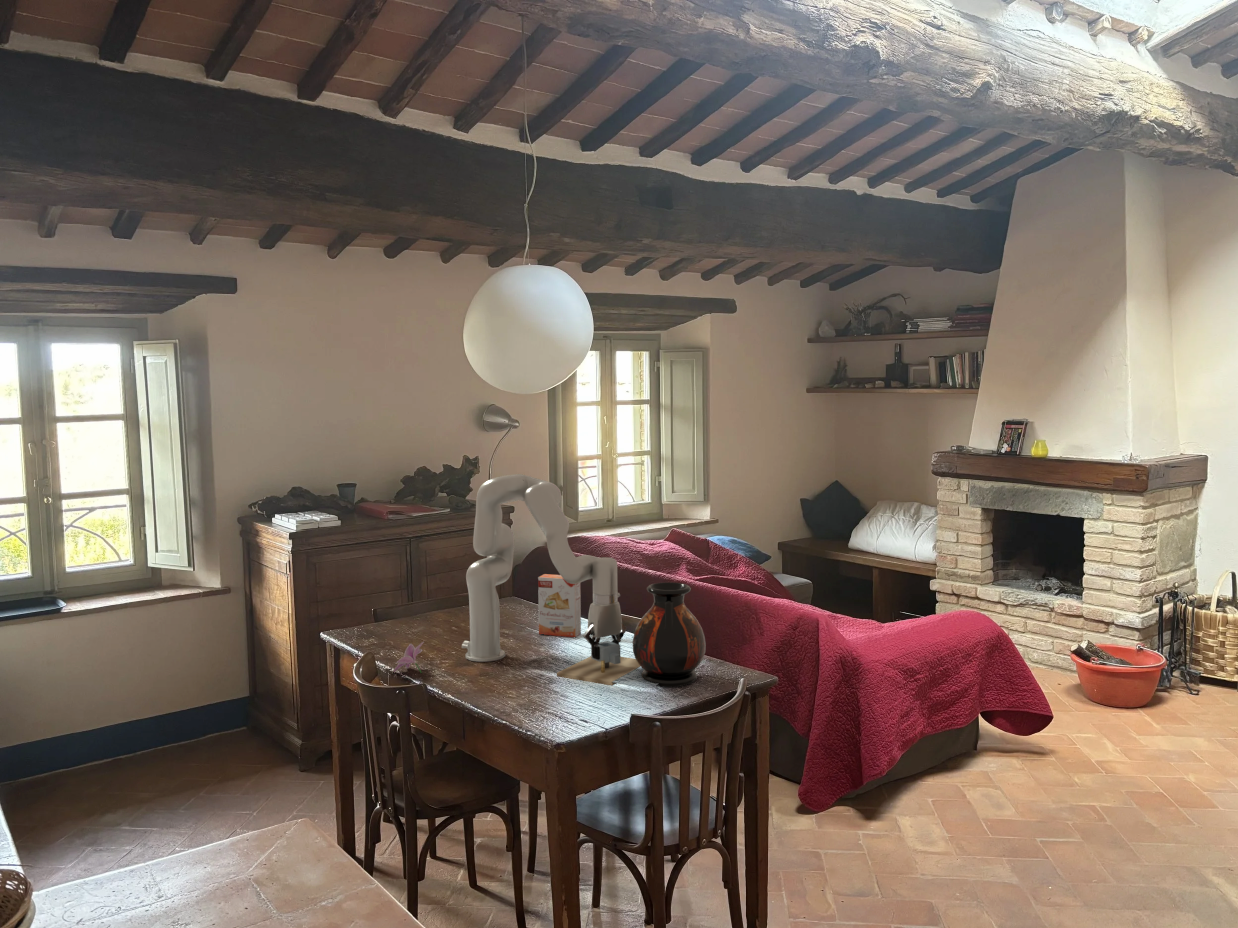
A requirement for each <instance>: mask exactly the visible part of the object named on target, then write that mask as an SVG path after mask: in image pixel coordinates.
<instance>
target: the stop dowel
mask: <svg viewBox="0 0 1238 928" xmlns="http://www.w3.org/2000/svg"><path fill="white" fill-rule="evenodd" d="M601 673H605V660H601Z"/></svg>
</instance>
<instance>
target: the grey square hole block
mask: <svg viewBox="0 0 1238 928" xmlns="http://www.w3.org/2000/svg"><path fill="white" fill-rule="evenodd" d="M598 646H599V647H600V659H599V660H597V659H594V658H593V657H592V645H590V656H591V659H594V660H596V661H599V662H601V660H605V663H607V662H611V663H613V664H619V663H620V657H621V644H620V643H619V644H616V643H613V642H611V640H605V641H600V642H599V645H598Z"/></svg>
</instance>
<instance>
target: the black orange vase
mask: <svg viewBox="0 0 1238 928" xmlns="http://www.w3.org/2000/svg"><path fill="white" fill-rule="evenodd" d="M691 589H692V588H691V587H690V585H688V584H686V583H679V582H656V583H652V584H649V585H648V586H647V587H646V590H647V592H648V593H649V594H652V596H653V603H652V605H651V607H650V608H649V609H648V611H646V613H645V614H643V616H642V617H641V619H640V620H639V621H638V623H637V625H636V627H635V630H634V633H633V637H632V653H633V656H634V659H636V661H637V662H638V664H639V665H640V668H642V669H643V670H642V672H641V673H640V676H641V679H643V680H644V681H646V682H649V683H652V684H655V685H656V686H657V687H661V688H663V687H664V688H676V686H678V687H683V685H684V686H688V685H690V684H693V683H694V682H695V681H696V680H697V678H698V674H697V672H696V671H695V670H696V669H697V668H698V667H699V666H700V665H701V663H702V661H703V660H704V657H705V654H706V646H707V645H706V644H707V643H706V637H705V632H704V630H703V628H702V626H701V623H700V621H699V620H698V619H697V617H696V616H695V614H693V613H692V611H690V609H689V608H688V607H687V606H686V604H685V601H684V600H685V595H686V594H689V593H690V592H691ZM687 684H688V685H687Z"/></svg>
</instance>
